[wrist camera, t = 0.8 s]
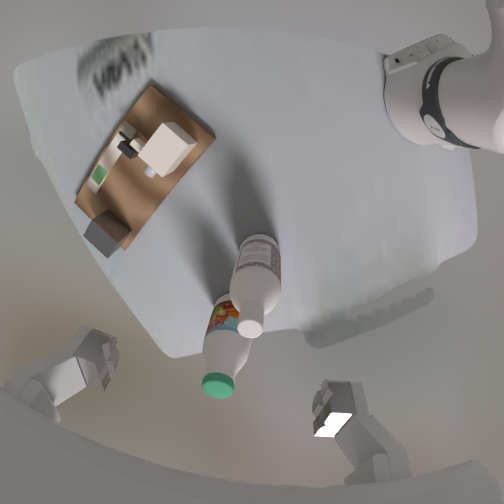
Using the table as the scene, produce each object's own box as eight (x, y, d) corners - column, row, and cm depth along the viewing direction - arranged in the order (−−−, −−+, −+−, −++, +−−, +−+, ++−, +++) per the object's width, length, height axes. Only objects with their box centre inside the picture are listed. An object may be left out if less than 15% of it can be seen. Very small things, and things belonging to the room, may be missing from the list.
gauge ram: (163, 112, 39) (150, 112, 34) (198, 142, 40) (188, 145, 36) (133, 151, 42) (118, 155, 37) (166, 180, 43) (154, 187, 39)
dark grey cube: (108, 208, 46) (92, 219, 41) (132, 230, 48) (117, 243, 43) (99, 224, 48) (83, 235, 43) (121, 245, 49) (107, 258, 44)
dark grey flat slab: (123, 130, 40) (111, 132, 36) (145, 149, 41) (134, 153, 38) (119, 136, 40) (107, 138, 37) (141, 155, 42) (129, 159, 38)
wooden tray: (153, 85, 38) (149, 84, 36) (216, 138, 42) (213, 139, 40) (78, 200, 48) (73, 202, 46) (128, 246, 51) (123, 251, 49)
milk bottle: (261, 300, 54) (252, 384, 36) (246, 328, 57) (233, 410, 39) (222, 285, 53) (197, 366, 35) (210, 315, 56) (185, 394, 38)
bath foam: (269, 275, 51) (264, 358, 33) (233, 259, 50) (210, 337, 32) (287, 243, 48) (292, 319, 30) (249, 226, 47) (233, 294, 29)
